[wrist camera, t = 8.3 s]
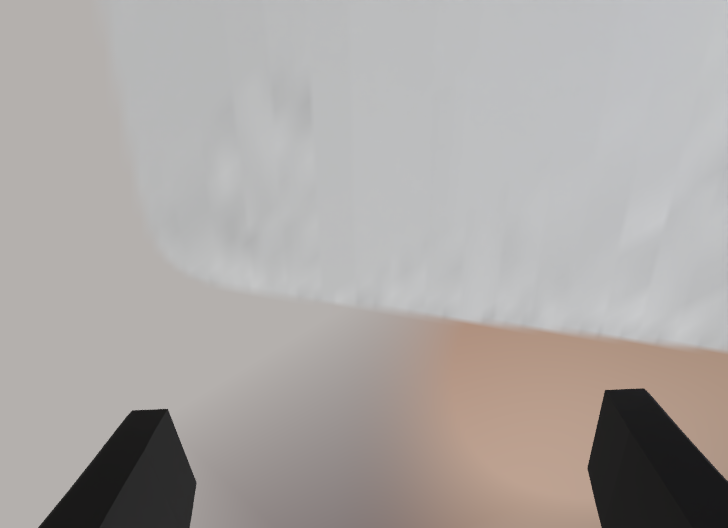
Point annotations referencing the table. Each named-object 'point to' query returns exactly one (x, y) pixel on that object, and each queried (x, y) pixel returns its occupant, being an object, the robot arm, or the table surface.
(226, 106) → the table surface
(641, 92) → the table surface
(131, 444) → the robot arm
